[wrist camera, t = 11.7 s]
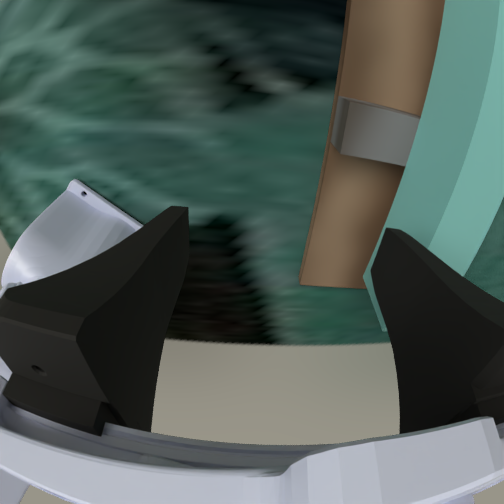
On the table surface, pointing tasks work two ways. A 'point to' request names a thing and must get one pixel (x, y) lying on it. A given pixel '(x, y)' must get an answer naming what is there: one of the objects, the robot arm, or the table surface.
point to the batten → (456, 142)
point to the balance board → (360, 181)
